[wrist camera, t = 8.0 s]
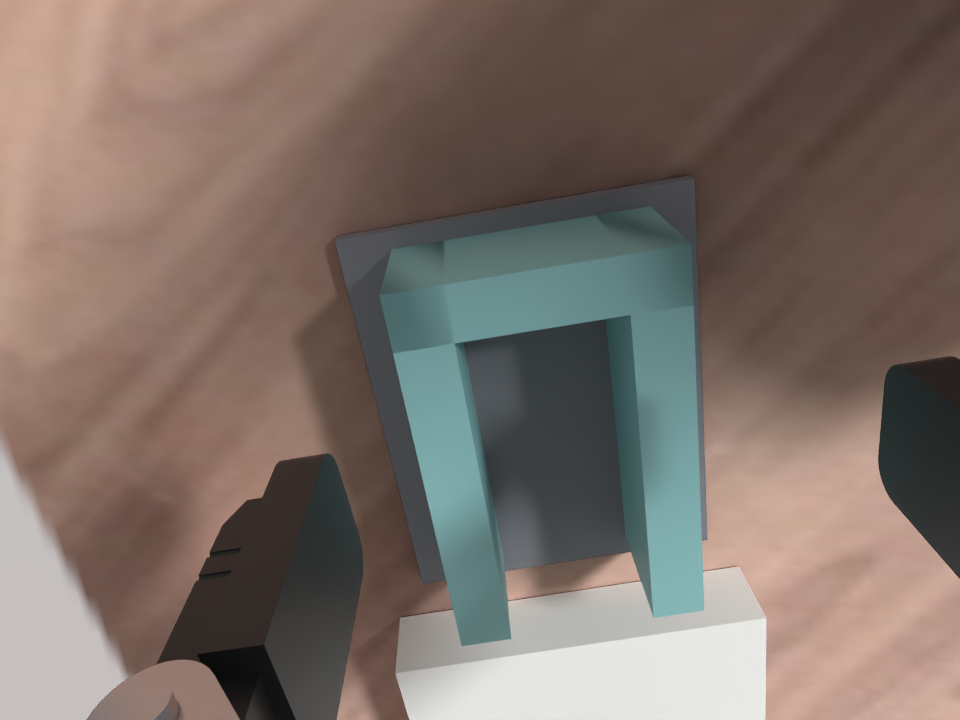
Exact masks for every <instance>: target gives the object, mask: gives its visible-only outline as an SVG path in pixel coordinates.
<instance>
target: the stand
mask: <svg viewBox="0 0 960 720" xmlns="http://www.w3.org/2000/svg"><path fill="white" fill-rule="evenodd" d="M703 588H704V611H698V612H691V613H685V614H678V615H671V616H664V617H657V618H653V615H652V612H651V609H650V606H649V603H648V600H647V597H646V594H645V591H644V588H643V585H642V582H641V581H639V582H632V583H625V584H619V585H612V586H606V587H599V588H592V589H586V590H579V591H573V592H566V593H560V594H553V595H546V596H540V597H533V598H527V599H520V600H513V601H508V609H509V619H510V630H511V639H508V640H501V641H494V642H487V643H481V644H474V645H467V646H462V645H461V641H460V637H459V633H458V628H457V624H456V620H455V616H454V611H453V610H448V611H441V612H434V613H428V614H421V615H415V616H408V617H401V618H400V624H399V636H398V647H397V659H396V671H395V674H396V677H397V681H398V684H399V687H400V691H401V694H402V697H403V701H404V704H405V707H406V711H407V714H408V717H409V720H765V701H766V616H765V615H764V613H763V611H762V609H761V607H760V605H759V603H758V601H757V600H756V598H755V596H754V594H753V592H752V590H751V588H750V586H749V584H748V583H747V581H746V579H745V577H744V575H743V573H742V571H741V569H740V567H739V566H737V567H731V568H724V569H718V570H711V571H705V572H703Z"/></svg>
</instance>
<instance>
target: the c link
mask: <svg viewBox="0 0 960 720" xmlns="http://www.w3.org/2000/svg"><path fill="white" fill-rule="evenodd" d="M379 296H380V300H381V305H382V309H383V313H384V317H385V322H386V326H387V330H388V334H389V339H390V343H391V347H392V351H393V356H394V360H395V364H396V368H397V373H398V377H399V381H400V386H401V390H402V394H403V398H404V403H405V407H406V411H407V415H408V420H409V424H410V428H411V432H412V437H413V441H414V445H415V449H416V454H417V458H418V462H419V466H420V471H421V475H422V479H423V484H424V488H425V492H426V496H427V501H428V505H429V509H430V513H431V518H432V522H433V526H434V530H435V535H436V539H437V543H438V547H439V552H440V556H441V560H442V564H443V569H444V573H445V577H446V582H447V586H448V590H449V594H450V599H451V603H452V607H453V611H454V616H455V620H456V624H457V628H458V633H459V637H460V641H461V645H462V646H467V645H474V644H481V643H487V642H494V641H501V640H508V639H511V630H510V619H509V609H508V599H507V589H506V579H505V568H504V558H503V551H502V546H501V540H500V535H499V530H498V524H497V519H496V514H495V508H494V503H493V497H492V492H491V487H490V481H489V476H488V471H487V465H486V460H485V455H484V449H483V444H482V439H481V433H480V428H479V422H478V417H477V412H476V406H475V401H474V396H473V390H472V385H471V380H470V374H469V369H468V363H467V358H466V353H465V347H464V342H467V341H473V340H479V339H485V338H492V337H498V336H504V335H510V334H516V333H522V332H529V331H535V330H541V329H547V328H553V327H560V326H566V325H572V324H578V323H584V322H590V321H597V320H603V319H606V327H607V338H608V349H609V360H610V371H611V382H612V393H613V404H614V414H615V425H616V436H617V447H618V458H619V469H620V480H621V491H622V502H623V512H624V523H625V534H626V538H627V541H628V544H629V547H630V550H631V553H632V556H633V559H634V562H635V565H636V568H637V571H638V574H639V577H640V580H641V582H642V585H643V588H644V591H645V594H646V597H647V600H648V603H649V606H650V609H651V612H652V615H653V618H657V617H664V616H671V615H678V614H685V613H691V612H698V611H704V588H703V559H702V530H701V501H700V472H699V444H698V415H697V386H696V357H695V328H694V299H693V270H692V244H691V243H690V242H689V241H688V240H687V239H686V238H685V237H683V236H682V235H681V234H680V233H679V232H678V231H677V230H676V229H675V228H674V227H673V226H671V225H670V224H669V223H668V222H667V221H666V220H665V219H664V218H663V217H662V216H661V215H659V214H658V213H657V212H656V211H655V210H654V209H653V208H652V207H651V206H648V207H642V208H636V209H630V210H624V211H618V212H612V213H606V214H600V215H594V216H588V217H582V218H576V219H570V220H564V221H558V222H552V223H546V224H540V225H534V226H528V227H522V228H516V229H510V230H504V231H498V232H492V233H486V234H480V235H474V236H468V237H462V238H456V239H450V240H445V241H439V242H433V243H427V244H421V245H415V246H409V247H403V248H397V249H392V250H391V253H390V257H389V261H388V265H387V269H386V272H385V276H384V280H383V284H382V287H381V291H380V295H379Z"/></svg>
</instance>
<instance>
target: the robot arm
mask: <svg viewBox="0 0 960 720" xmlns="http://www.w3.org/2000/svg"><path fill="white" fill-rule="evenodd" d="M878 462H879V471H880V475H881V479H882V482H883V485H884V487H885V490H886V492H887V494H888V495H889V497H890V499H891V500H892V501H893V503H894V504H895V505H896V506H897V507H898V508H899V509H900V511H901V512H902V513H903V514H904V515H905V516H906V518H907V519H908V520H909V521H910V522H911V523H912V524H913V526H914V527H915V528H916V529H917V530H918V531H919V532H920V534H921V535H922V536H923V537H924V538H925V539H926V541H927V542H928V543H929V544H930V545H931V546H932V547H933V549H934V550H935V551H936V552H937V553H938V554H939V555H940V557H941V558H942V559H943V560H944V561H945V562H946V563H947V565H948V566H949V567H950V568H951V569H952V570H953V572H954V573H955V574H956V575H957V576H958V577H959V578H960V359H958V358H956V357H950V356H948V357H942V358H936V359H929V360H923V361H917V362H910V363H904V364H898V365H894V366H892V367H891V368H890V369H889V370H888V372H887V374H886V378H885V384H884V395H883V407H882V419H881V431H880V443H879V455H878ZM362 576H363V556H362V547H361V541H360V537H359V533H358V530H357V527H356V524H355V520H354V517H353V514H352V511H351V508H350V504H349V501H348V498H347V495H346V492H345V489H344V485H343V482H342V479H341V476H340V473H339V469H338V466H337V464H336V461H335V459H334V458H333V456H332V455H331V454H328V453H327V454H321V455H315V456H308V457H302V458H296V459H290V460H283V461H279V462H278V463H277V464H276V466H275V469H274V471H273V473H272V476H271V478H270V480H269V483H268V485H267V488H266V490H265V492H264V495H263V497H262V498H258V499H252V500H247V501H246V502H245V503H244V504H243V505H242V506H241V507H240V508H239V509H238V510H237V511H236V512H235V513H234V514H233V515H232V516H231V517H230V518H229V519H228V520H227V521H226V522H225V523H224V524H223V525H222V527H221V529H220V532H219V534H218V536H217V538H216V540H215V542H214V544H213V546H212V548H211V551H210V558H207V559H206V561H205V563H204V565H203V567H202V570H201V572H200V574H199V581H196V582H195V584H194V586H193V589H192V591H191V593H190V595H189V597H188V599H187V601H186V603H185V605H184V608H183V610H182V612H181V614H180V616H179V618H178V620H177V622H176V624H175V627H174V629H173V631H172V633H171V635H170V637H169V639H168V641H167V643H166V646H165V648H164V650H163V652H162V654H161V656H160V658H159V660H158V662H157V665H154V666H151V667H149V668H147V669H144V670H142V671H140V672H139V673H137V674H135V675H133V676H131V677H130V678H128V679H127V680H125V681H124V682H122V683H121V684H120V685H118V686H117V687H116V688H115V689H113V690H112V691H111V692H110V693H109V694H108V695H107V696H106V697H105V698H104V699H103V700H102V701H101V702H100V703H99V704H98V705H97V706H96V708H95V709H94V710H93V711H92V713H91V714H90V716H89V717H88V719H87V720H336V719H337V713H338V708H339V702H340V697H341V691H342V686H343V681H344V675H345V670H346V664H347V659H348V653H349V648H350V642H351V637H352V631H353V626H354V620H355V615H356V609H357V604H358V599H359V593H360V588H361V582H362Z"/></svg>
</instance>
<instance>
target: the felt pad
mask: <svg viewBox="0 0 960 720" xmlns="http://www.w3.org/2000/svg"><path fill="white" fill-rule="evenodd" d="M648 206H651V207H652V208H653V209H654V210H655V211H656V212H657V213H658V214H659V215H661V216H662V217H663V218H664V219H665V220H666V221H667V222H668V223H669V224H670V225H671V226H673V227H674V228H675V229H676V230H677V231H678V232H679V233H680V234H681V235H682V236H683V237H685V238H686V239H687V240H688V241H689V242H690V243H691V244H692V270H693V299H694V328H695V357H696V386H697V415H698V444H699V472H700V501H701V530H702V541H704V540H707V511H706V483H705V454H704V426H703V397H702V368H701V340H700V311H699V283H698V254H697V226H696V197H695V179H694V178H693V177H691V176H690V175H688V176H683V177H677V178H671V179H665V180H659V181H654V182H648V183H642V184H636V185H630V186H625V187H619V188H613V189H607V190H601V191H595V192H590V193H584V194H578V195H572V196H566V197H561V198H555V199H549V200H543V201H537V202H532V203H526V204H520V205H514V206H508V207H502V208H497V209H491V210H485V211H479V212H473V213H468V214H462V215H456V216H450V217H444V218H439V219H433V220H427V221H421V222H415V223H410V224H404V225H398V226H392V227H386V228H380V229H375V230H369V231H363V232H357V233H351V234H346V235H340V236H337V237H336V239H335V245H336V249H337V253H338V257H339V261H340V264H341V268H342V272H343V276H344V280H345V284H346V288H347V292H348V295H349V299H350V303H351V307H352V311H353V315H354V319H355V323H356V326H357V330H358V334H359V338H360V342H361V346H362V350H363V354H364V357H365V361H366V365H367V369H368V373H369V377H370V381H371V384H372V388H373V392H374V396H375V400H376V404H377V408H378V412H379V415H380V419H381V423H382V427H383V431H384V435H385V439H386V443H387V446H388V450H389V454H390V458H391V462H392V466H393V470H394V474H395V477H396V481H397V485H398V489H399V493H400V497H401V501H402V504H403V508H404V512H405V516H406V520H407V524H408V528H409V532H410V535H411V539H412V543H413V547H414V551H415V555H416V559H417V563H418V566H419V570H420V574H421V578H422V582H423V584H424V583H430V582H437V581H443V580H446V577H445V573H444V569H443V564H442V560H441V556H440V552H439V547H438V543H437V539H436V535H435V530H434V526H433V522H432V518H431V513H430V509H429V505H428V501H427V496H426V492H425V488H424V484H423V479H422V475H421V471H420V466H419V462H418V458H417V454H416V449H415V445H414V441H413V437H412V432H411V428H410V424H409V420H408V415H407V411H406V407H405V403H404V398H403V394H402V390H401V386H400V381H399V377H398V373H397V368H396V364H395V360H394V356H393V351H392V347H391V343H390V339H389V334H388V330H387V326H386V322H385V317H384V313H383V309H382V305H381V300H380V296H379V295H380V291H381V287H382V284H383V280H384V276H385V272H386V269H387V265H388V261H389V257H390V253H391V250H392V249H397V248H403V247H409V246H415V245H421V244H427V243H433V242H439V241H445V240H450V239H456V238H462V237H468V236H474V235H480V234H486V233H492V232H498V231H504V230H510V229H516V228H522V227H528V226H534V225H540V224H546V223H552V222H558V221H564V220H570V219H576V218H582V217H588V216H594V215H600V214H606V213H612V212H618V211H624V210H630V209H636V208H642V207H648ZM464 347H465V353H466V358H467V363H468V369H469V374H470V380H471V385H472V390H473V396H474V401H475V406H476V412H477V417H478V422H479V428H480V433H481V439H482V444H483V449H484V455H485V460H486V465H487V471H488V476H489V481H490V487H491V492H492V497H493V503H494V508H495V514H496V519H497V524H498V530H499V535H500V540H501V546H502V551H503V558H504V568H505V571H508V570H515V569H521V568H528V567H534V566H541V565H548V564H554V563H561V562H567V561H574V560H580V559H587V558H593V557H600V556H606V555H613V554H619V553H626V552H631V550H630V547H629V544H628V541H627V538H626V534H625V523H624V512H623V502H622V491H621V480H620V469H619V458H618V447H617V436H616V425H615V414H614V404H613V393H612V382H611V371H610V360H609V349H608V338H607V327H606V319H603V320H597V321H590V322H584V323H578V324H572V325H566V326H560V327H553V328H547V329H541V330H535V331H529V332H522V333H516V334H510V335H504V336H498V337H492V338H485V339H479V340H473V341H467V342H464Z"/></svg>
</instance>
